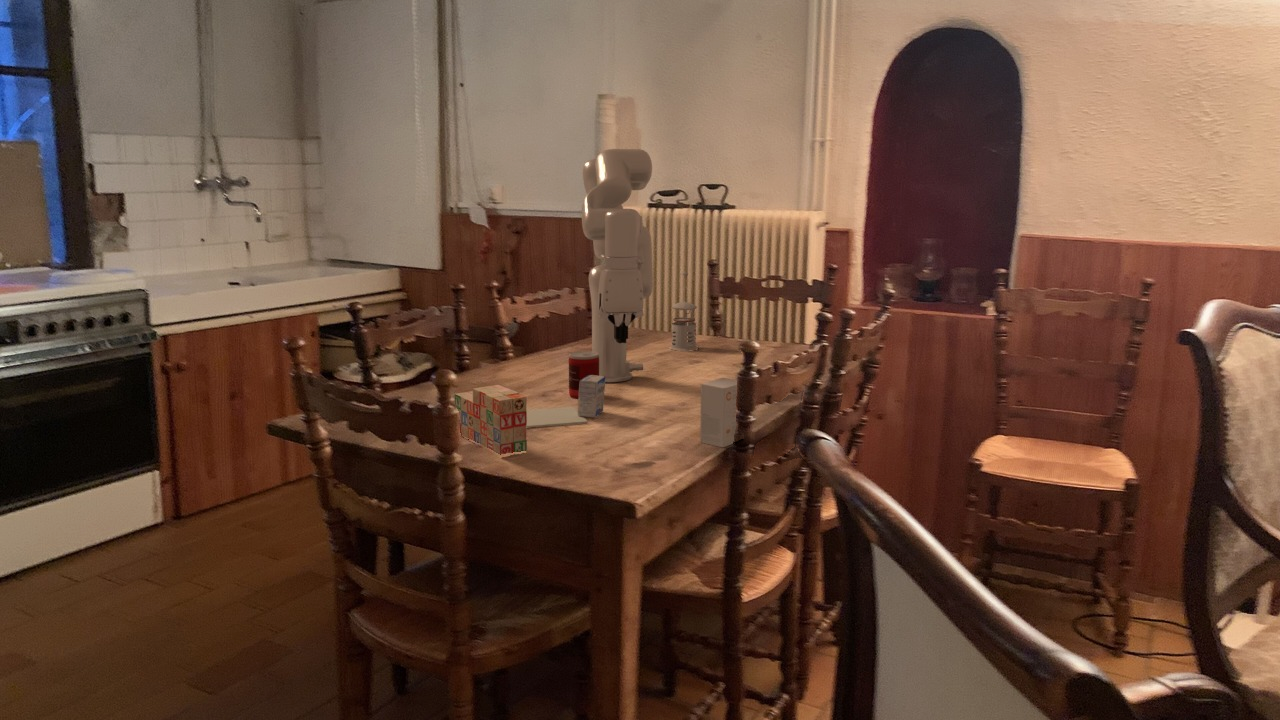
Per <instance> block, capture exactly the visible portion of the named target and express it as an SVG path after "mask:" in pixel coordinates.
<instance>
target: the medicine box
mask: <svg viewBox="0 0 1280 720" xmlns="http://www.w3.org/2000/svg"><path fill="white" fill-rule="evenodd" d="M605 387H606V382H605V377H604V376H597V375H588V376H587V377H585V378H584V379H582V380H581V381H580V384H579V399H577V400H578V405H577V411H578V416H583V417H584V418H592V419H596V418H597V417H598V416H599V415H600V414H601V413H602V412H603V411H604V403H605V390H606V389H605Z"/></svg>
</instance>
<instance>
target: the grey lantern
mask: <svg viewBox="0 0 1280 720" xmlns="http://www.w3.org/2000/svg"><path fill="white" fill-rule="evenodd" d="M688 275H689V273H688V272H687V271H683V272H682V273H681V276H683V279H684V281H683V283H684V286H683V287H684V288H683V289H684V290H683V301H680V302H677V303H674V304H673V305H672V306H671V308H672V309H674V310H679V311H683V316H682V317H681V316H679V317H678V316H677V317H673V319H672V321H674V322H672V323H671V345H670V346H669V347H668V349H669V348H670V349H673V350H680V351H679V352H685V351H686V352H690V351H689V350H696V349H698V348H699V347H698V346H697V343H696V340H697V329H696V328H697V324H696V323H695V321H696V319H695V318H694V317H693V314H692V311H693V310H696V309H697V308H698V307H697V305H695V304H694V303H692V302H688V301H686V300H685V299H686V298H685V297H686V276H688ZM687 311H689V312H687ZM689 314H690V317H688V315H689ZM685 315H686V316H685ZM670 349H669V350H670ZM673 350H672V351H673ZM698 350H699V349H698ZM696 351H697V350H696Z"/></svg>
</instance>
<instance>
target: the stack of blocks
mask: <svg viewBox="0 0 1280 720" xmlns="http://www.w3.org/2000/svg"><path fill="white" fill-rule="evenodd" d="M527 401H528V400H527V396H526V395H523V394H520V392H518V391H516V390H513V389H510V388H508V387H504V386H503V385H500V384H495V385H488V386H482V387H475V388H472V390H471V391H466V392H459V393H454V406H455V405H456V407H457V409H458V411H459V415H460V433H461V436H460V437H462V435H463V437H466V438H469V439H471V440H473V441H475V442H477V443H480V444H481V445H483V446H485V447H487V448H489V449H491V450H493V451H494V452H496V453H498V454H500V455H501V454H506V453H513V452H521V451H527V450H528V448H527V447H528V440H527V428H526V425H527V411H526V410H527ZM456 407H455V408H456ZM463 437H462V438H463Z"/></svg>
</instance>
